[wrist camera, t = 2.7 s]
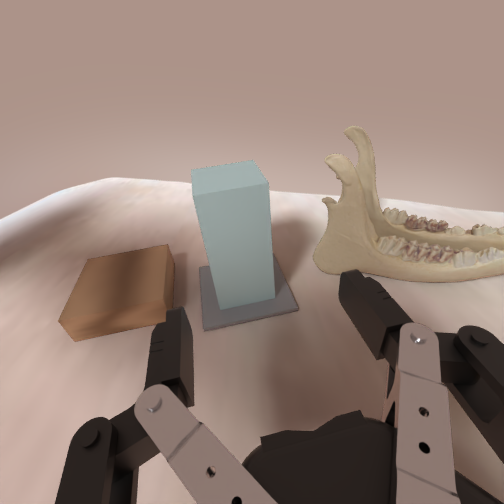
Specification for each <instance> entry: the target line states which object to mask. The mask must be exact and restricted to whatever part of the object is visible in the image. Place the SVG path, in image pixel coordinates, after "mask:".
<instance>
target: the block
mask: <svg viewBox="0 0 504 504" xmlns="http://www.w3.org/2000/svg"><path fill="white" fill-rule="evenodd" d="M191 176H192V194H193V200H194V204H195V208H196V212H197V216H198V220H199V224H200V228H201V233H202V237H203V241H204V245H205V249H206V253H207V257H208V261H209V266H210V270H211V274H212V278H213V282H214V286H215V290H216V295H217V299H218V303H219V307H220V310H223V309H228V308H232V307H237V306H242V305H246V304H251V303H255V302H260V301H265V300H269V299H274V298H275V286H274V268H273V250H272V233H271V215H270V197H269V183H268V181H267V180H266V178H265V177H264V175H263V174H262V172H261V171H260V169H259V168H258V166H257V165H256V163H255V162H254V161H253V160H251V161H244V162H238V163H231V164H225V165H219V166H212V167H206V168H200V169H193V170H191Z"/></svg>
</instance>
